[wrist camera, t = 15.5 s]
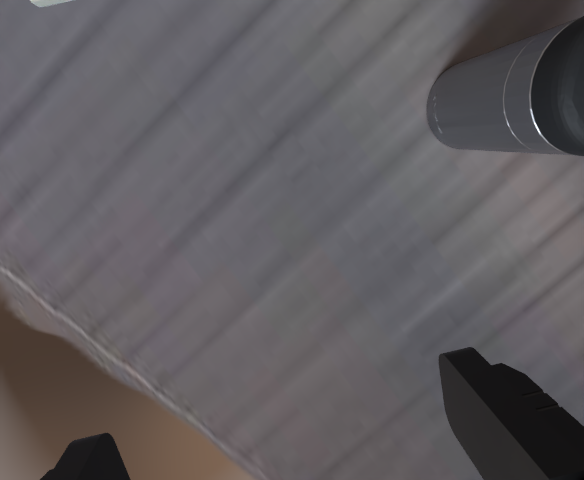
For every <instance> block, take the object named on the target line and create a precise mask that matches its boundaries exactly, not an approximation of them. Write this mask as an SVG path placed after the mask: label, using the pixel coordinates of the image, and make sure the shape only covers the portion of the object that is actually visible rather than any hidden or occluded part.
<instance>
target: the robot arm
mask: <svg viewBox="0 0 584 480" xmlns="http://www.w3.org/2000/svg"><path fill="white" fill-rule="evenodd" d="M427 118H428V122H429V126H430V128H431V130H432V132H433V133H434V135H435V136H436V137H437V139H439V140H440V141H441V142H442V143H444V144H445V145H448V146H450V147H452V148H457V149H469V150H485V151H503V152H521V153H539V154H561V155H579V156H584V16H583V17H581V18H578V19H575V20H573V21H570V22H568V23H565V24H562V25H560V26H557V27H554V28H552V29H549V30H547V31H544V32H542V33H539V34H536V35H534V36H531V37H528V38H526V39H523V40H520V41H518V42H515V43H512V44H510V45H507V46H504V47H502V48H499V49H496V50H494V51H491V52H488V53H486V54H483V55H480V56H477V57H474V58H472V59H469V60H467V61H464V62H461V63H459V64H457V65H454V66H452V67H450V68H449V69H448V70H446V71H445V72H444V73H443V74H442V75H441V76H440V77H439V78H438V79H437V80H436V82H435V84H434V85H433V87H432V89H431V91H430V94H429V97H428V102H427ZM439 369H440V376H441V384H442V391H443V399H444V406H445V411H446V415H447V418H448V421H449V424H450V426H451V429H452V431H453V433H454V434H455V436H456V438H457V439H458V441H459V442H460V444H461V445H462V447H463V449H464V450H465V452H466V453H467V455H468V456H469V458H470V459H471V461H472V462H473V464H474V465H475V467H476V468H477V470H478V472H479V473H480V475H481V476H482V478H483V479H484V480H584V426H582V425H581V424H580V423H579V422H578V421H577V420H576V419H575V418H574V417H572V416H571V415H570V414H569V413H568V412H567V411H566V410H565V409H563V408H562V407H559V406H558V403H557V402H556V401H555V400H553V399H552V398H551V397H550V396H549V395H548V394H547V393H544V392H543V390H542V389H541V388H540V387H539V386H538V385H537V384H536V383H534V382H533V381H532V380H531V379H530V378H529V377H528V376H527V375H525V374H524V373H522V372H520V371H517V370H515V369H513V368H511V367H509V366H507V365H505V364H503V363H500V364H495V365H490V364H489V363H488V362H487V361H486V360H485V359H484V358H483V357H482V356H481V355H480V354H479V353H478V352H477V351H476V350H475V349H474V348H472V347H468V348H464V349H460V350H456V351H451V352H447V353H443V354H440V355H439ZM40 480H130V478H129V475H128V473H127V470H126V468H125V466H124V463H123V460H122V458H121V456H120V453H119V451H118V449H117V446H116V444H115V441H114V439H113V437H112V436H111V435H110V434H109V433H103V434H99V435H95V436H90V437H86V438H82V439H78V440H74V441H72V442H71V443H70V444H69V445H68V447H67V448H66V450H65V452H64V453H63V455H62V456H61V458H60V460H59V461H58V463H57V464H56V466H55V468H54V469H52V470H49V471H48V472H47V473H46V474H45V475H44V476H43V477H42V478H41V479H40Z"/></svg>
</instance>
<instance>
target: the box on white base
mask: <svg viewBox="0 0 584 480" xmlns="http://www.w3.org/2000/svg"><path fill="white" fill-rule="evenodd" d="M30 1H31V3H33V4H35V5H36V6H38V7H40V8H41V7H45V6H50V5H54V4H59V3H64V2H68V1H73V0H30Z"/></svg>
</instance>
